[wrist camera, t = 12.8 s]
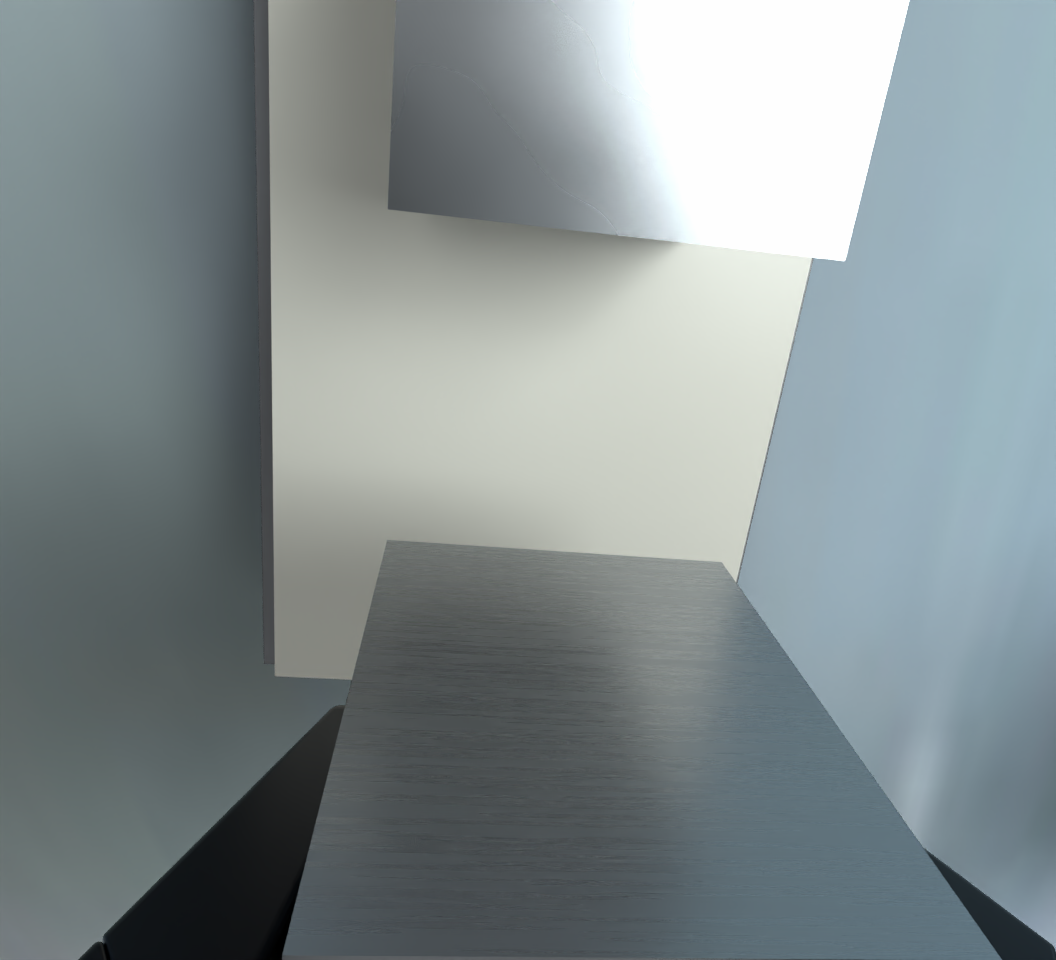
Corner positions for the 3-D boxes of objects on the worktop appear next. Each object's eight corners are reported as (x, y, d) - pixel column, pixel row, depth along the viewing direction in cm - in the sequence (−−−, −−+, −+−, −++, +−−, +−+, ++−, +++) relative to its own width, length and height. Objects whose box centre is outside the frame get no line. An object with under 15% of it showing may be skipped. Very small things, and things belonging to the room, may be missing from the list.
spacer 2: (721, 561, 9) (1002, 960, 4) (664, 818, 10) (829, 1334, 6) (387, 539, 8) (282, 955, 4) (374, 810, 10) (286, 1362, 5)
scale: (874, -308, 12) (1748, -1415, 4) (680, 621, 17) (858, 967, 9) (293, -428, 11) (-222, -2299, 3) (293, 598, 16) (128, 965, 8)
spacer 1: (741, -75, 10) (990, -333, 5) (686, 238, 11) (844, 262, 6) (441, -124, 9) (413, -454, 5) (422, 207, 11) (387, 209, 6)
